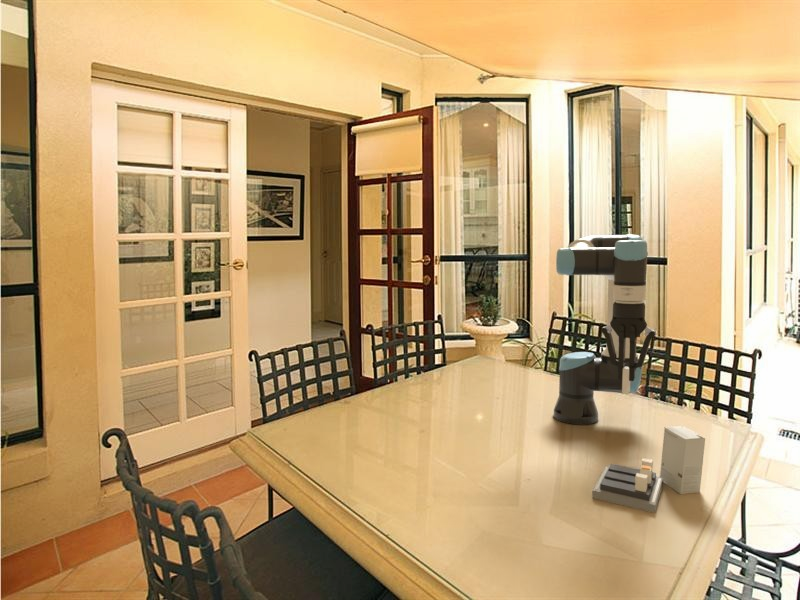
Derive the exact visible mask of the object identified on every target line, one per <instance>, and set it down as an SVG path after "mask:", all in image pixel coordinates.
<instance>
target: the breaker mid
mask: <svg viewBox="0 0 800 600" xmlns="http://www.w3.org/2000/svg"><path fill="white" fill-rule="evenodd" d="M652 472H653V469H652V468H651V467H650V466H645V465H642V466H640V474H644V475H648V478H647V484H651V478H652Z"/></svg>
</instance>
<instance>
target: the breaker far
mask: <svg viewBox="0 0 800 600" xmlns="http://www.w3.org/2000/svg"><path fill="white" fill-rule="evenodd" d="M640 464H641V466H642V465H645V466H650V467H651V468H652V470H654V469H653V467H654V465H653V464H654V459H651V458H650V459H649V458H644V457H643V458H642V459H641V463H640ZM641 466H640V467H641Z"/></svg>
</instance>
